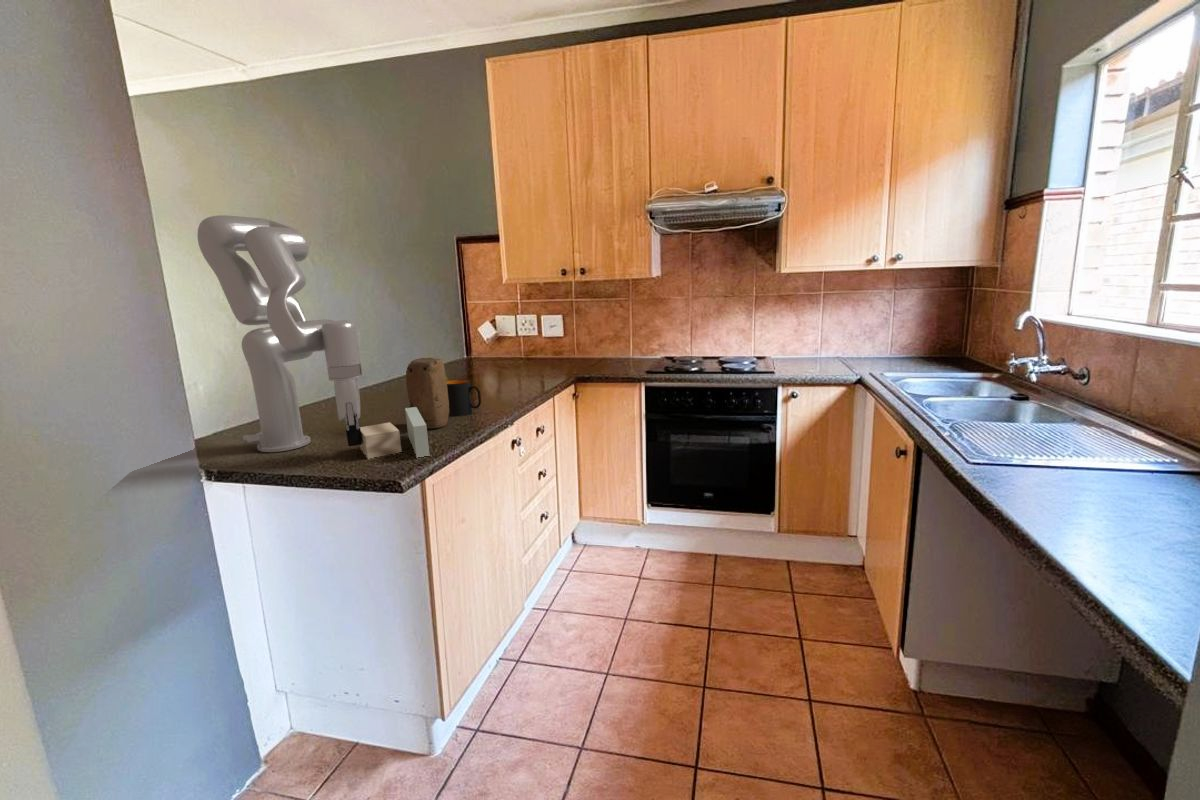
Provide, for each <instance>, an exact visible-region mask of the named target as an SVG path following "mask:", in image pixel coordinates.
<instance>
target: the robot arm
mask: <svg viewBox="0 0 1200 800" xmlns="http://www.w3.org/2000/svg"><path fill="white" fill-rule="evenodd" d="M196 236H197V242H198V246H199V249H200V252H201V254H202V256H203V258H204V259H205V261H206V262H207V264H208V266H209V267H210V269H211V270H212V271H213V272H214V275H215V276H216V278H217V280H218V282H219V284H220V287H221V290H222V291H223V293H224V297H225V298H226V300H227V302H228V305H229V307H230V309H231V311H232V313H233V315H234V317H235V319H236V320H237V321H238V322H239V323H240V324H242V325H243V326H244V325H245V326H260V325H261V326H262V325H269V326H268V327H267V326H266V327H260V328H255V329H252V330H249V331H248V332H247V333H245V335H244V336H243V337H242V340H241V350H242V353H243V356H244V358H245V361H246V363H247V365H248V369H249V373H250V376H251V377H250V378H251V381H252V385H253V390H254V391H253V392H254V397H255V402H256V403H255V404H256V408H257V409H256V410H257V414H258V419H259V420H258V421H259V425H260V431H259V432H257V433H256V434H246V435H243V436H242V440H243V443H244V444H245V443H247V444H248V445H249V444H254V443H257V445H256V448H257V451H259V452H261V453H278V452H279V453H280V452H285V451H291V450H296V449H298V448H302V447H304V446H307V445H309V444H310V443H311V442H312V440H311V437H310V435H304V432H303V430H304V429H303V426H302V425H303V424H302V419H301V413H300V406H299V400H298V394H297V386H296V380H295V378H294V375H293V374H292V372H291V371H290V370H289V369H288V368H287V366H285V364H286V363H288V362H295V361H299V360H300V361H301V360H304V359H306V358H309V357H311V356H312V355H313V353H315V352H323V351H324V354H325V356H324V357H325V362H326V368H327V375H328V380H329V381H331V382H333V388H334V396H335V403H336V410H337V418H338V421H339V422H342V421H343V420H345V426H346V430H345V433H346V439H347V440H346V441H347V445H348V447H355V446H360V445H361V444H362V437H361V430H360V428H359V427H360V425H359V424H360V423H359V419H360V418H361V397H360V388H359V379H360V378H363V370H362V363H361V362H362V361H361V354H360V348H359V341H358V332H357V327H356V324H355V323H354V321H352V320H332V319H315V320H314V319H313V320H307V318H306V315H305V314H304V311H303V308H302V307H301V305H300V302H299V301H298V298H297V297H296V296H295V294H297V293H298V292H300V291H301V290H302V289H303V288H304V287H305V286H306V284H307V278H306V276H305V275H304V273H303V271H302V269H301V268H300V266H299V264H298V263H299V262H303V261H304V260H306V259H307V257H308V255H309V253H310V251H309V249H310V247H309V244H308V240H307V238H306V237H305V236H304V235H303V233H302V232H301V231H299V230H298V229H296V228H294V227H292V226H288V225H286V224H283V223H280V222H276V221H275V220H271V219H268V218H261V217H249V216H248V217H246V216H238V215H222V214H221V215H210V216H208V217H206V218H204V219H203V220H201V222H200V223H199V224H198V228H197V235H196ZM237 251H238V252H248V254H249V256H250V257H251V259H252V261H253V263H254V264H255V266H256V268H257V270H258V271H259V273H260V275H261V277H262V278H263V280H264V282H265V284H266V286H267V287H266V286H264V285H262V283H261V282H260V280H259V277H258V275H257V273H256V271H255V269H254V268H253V267H252V265H251V264H250V263H249V262H248V261H247V260H246V259H244V258H243V257H242V256H240V255H239V254H238V253H237Z"/></svg>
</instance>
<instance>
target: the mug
mask: <svg viewBox="0 0 1200 800" xmlns="http://www.w3.org/2000/svg"><path fill="white" fill-rule="evenodd" d="M473 389H475V390H476V393H477V399H478V403H477V405H473V403H472V395H471V392H472V390H473ZM447 390H448V400H449V416H448V417H463V415H464V416H468V415H471V414H472V413H473V409H479V408H480V407H481V404H482V395H481V394H482V393H481V391H480V388H479V387H478V386H476V385H472V386H471V383H470V380H469V379H466V378H459V379H457V378H456V379H448V381H447Z"/></svg>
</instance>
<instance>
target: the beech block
mask: <svg viewBox="0 0 1200 800" xmlns="http://www.w3.org/2000/svg"><path fill="white" fill-rule="evenodd" d="M359 428H360V430H361V437H362V444H361V445H359V447H360V450H361V452H362V451H363V452H362V453H363V455H364V456H365V455H366V456H365V457H366V459H367V460H371V459H370V458H372V459H375V458H374V457H378V458H380V457H379V456H383V457H385V456H384V455H388V456H390V455H389V454H393V455H396V454H395V453H399V452H403V451H402V445H401V443H402V442H401V437H400V436H401V434H400V429H398V428H397V427H396V426H395V425H394V423H393V424H392V422H383V423H378V424H372V425H365V426H359ZM399 454H400V453H399Z"/></svg>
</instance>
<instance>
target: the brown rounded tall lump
mask: <svg viewBox="0 0 1200 800" xmlns="http://www.w3.org/2000/svg"><path fill="white" fill-rule="evenodd" d="M446 377H447V375H446V370H445V363H444V360H443V359H441V358H433V357H426V358H425V357H420V358H415V359H413V360H412V361H410V362H409V363H408V365H407V367H406V372H405V381H406V383H405V384H406V390H407V398H408V402H409V408H412V407H417V409H418V411H419V413H420V414H421V416H422V418H423V420H424V422H425V423H426V426H427V430H428V429H431V430H432V429H440V428H443V427H445V426H446V425H447V423H448V421H449V417H450V416H449V400H448V390H447V381H446Z"/></svg>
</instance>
